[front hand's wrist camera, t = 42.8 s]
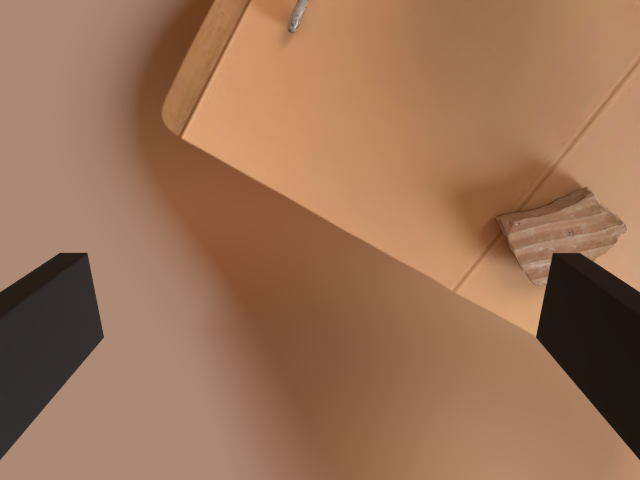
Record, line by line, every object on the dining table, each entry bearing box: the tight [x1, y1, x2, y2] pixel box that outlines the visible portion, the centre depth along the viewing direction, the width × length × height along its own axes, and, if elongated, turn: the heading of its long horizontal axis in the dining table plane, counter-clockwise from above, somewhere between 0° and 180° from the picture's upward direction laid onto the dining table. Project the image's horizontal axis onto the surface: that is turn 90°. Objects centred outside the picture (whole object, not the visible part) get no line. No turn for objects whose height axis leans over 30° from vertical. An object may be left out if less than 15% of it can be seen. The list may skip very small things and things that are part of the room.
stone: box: [495, 187, 628, 285], centre depth 53 cm, size 13×12×2 cm
